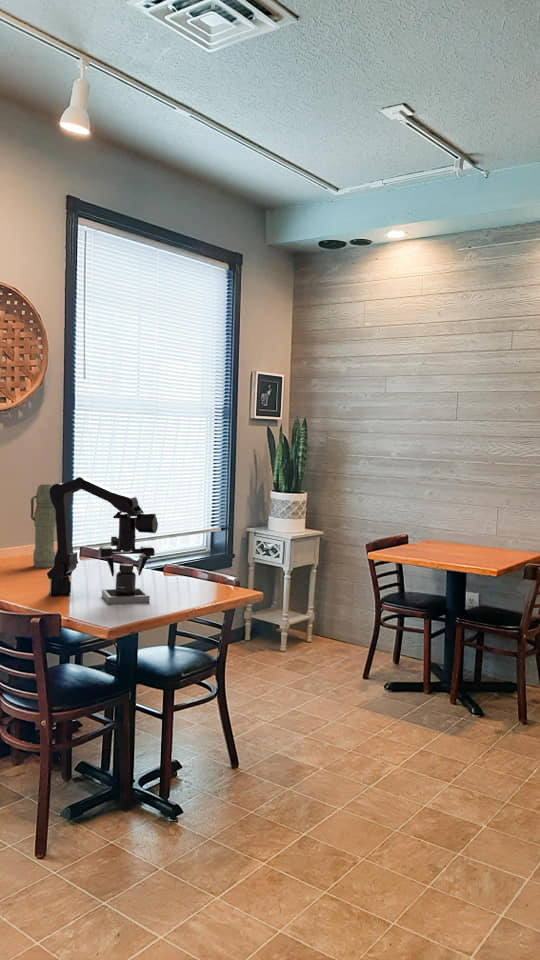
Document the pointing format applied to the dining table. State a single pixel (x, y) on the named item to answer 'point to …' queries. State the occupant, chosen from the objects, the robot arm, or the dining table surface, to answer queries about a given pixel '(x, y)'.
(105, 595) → the tray
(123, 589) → the supplement bottle
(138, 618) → the dining table surface
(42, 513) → the thermos
